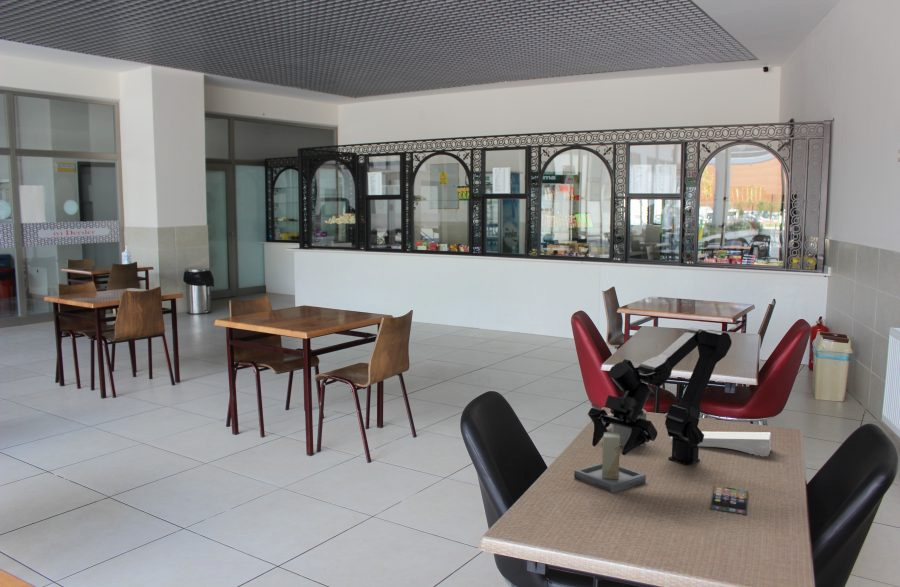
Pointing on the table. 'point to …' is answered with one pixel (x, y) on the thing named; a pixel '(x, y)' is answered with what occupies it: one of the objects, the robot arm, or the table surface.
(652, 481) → the table surface
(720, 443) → the wall bracket
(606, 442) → the box
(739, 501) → the smartphone
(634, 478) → the tray
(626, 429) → the coffee mug
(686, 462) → the robot arm
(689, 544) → the table surface
